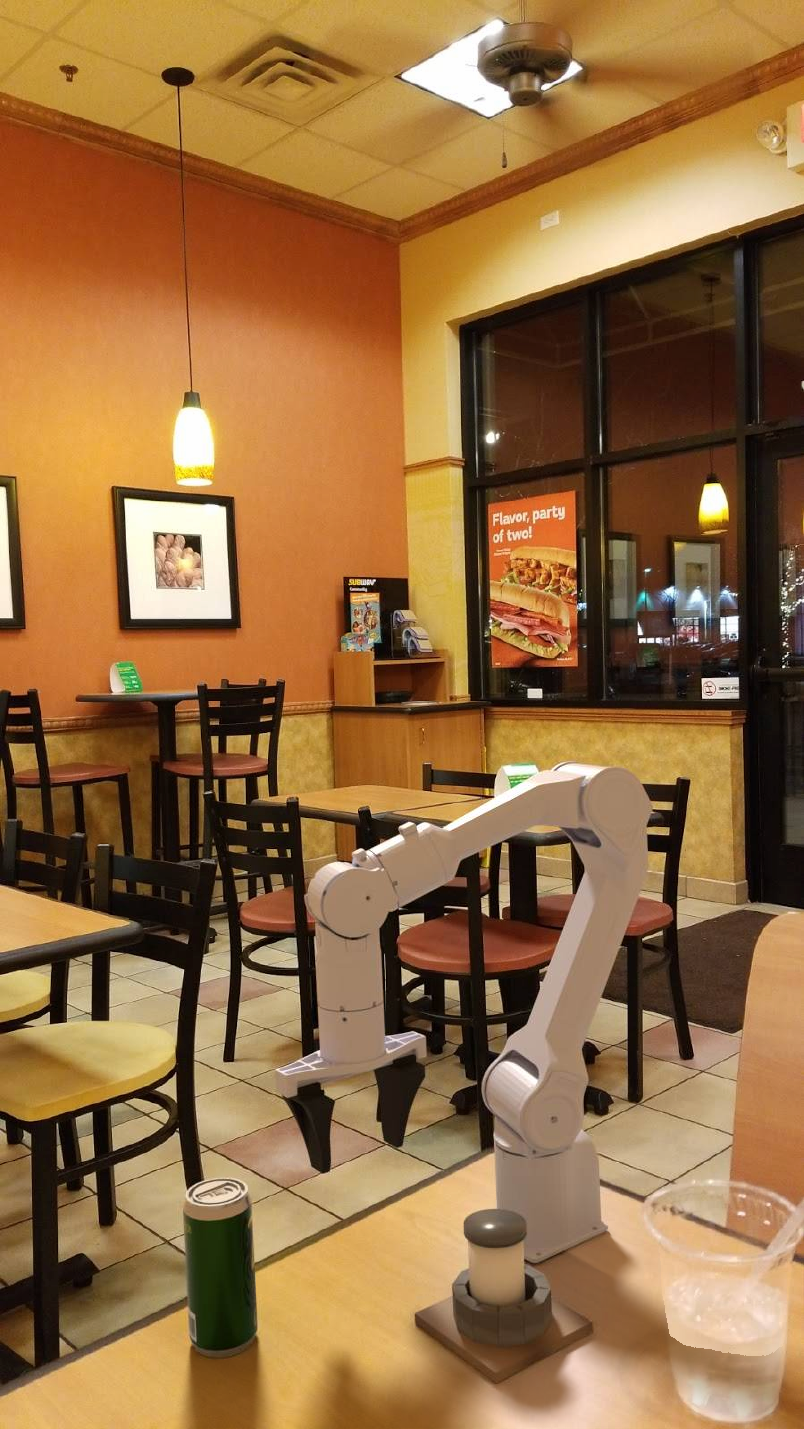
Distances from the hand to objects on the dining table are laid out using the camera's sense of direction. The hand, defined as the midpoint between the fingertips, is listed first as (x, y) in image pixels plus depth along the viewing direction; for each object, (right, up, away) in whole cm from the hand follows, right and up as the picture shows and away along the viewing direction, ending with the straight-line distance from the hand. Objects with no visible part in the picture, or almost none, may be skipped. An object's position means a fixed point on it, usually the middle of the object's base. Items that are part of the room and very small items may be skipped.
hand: (357, 1156), depth 97 cm
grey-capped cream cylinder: (+12, -9, -9) cm, 17 cm away
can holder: (+12, -10, -9) cm, 18 cm away
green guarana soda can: (-10, -11, -9) cm, 18 cm away
